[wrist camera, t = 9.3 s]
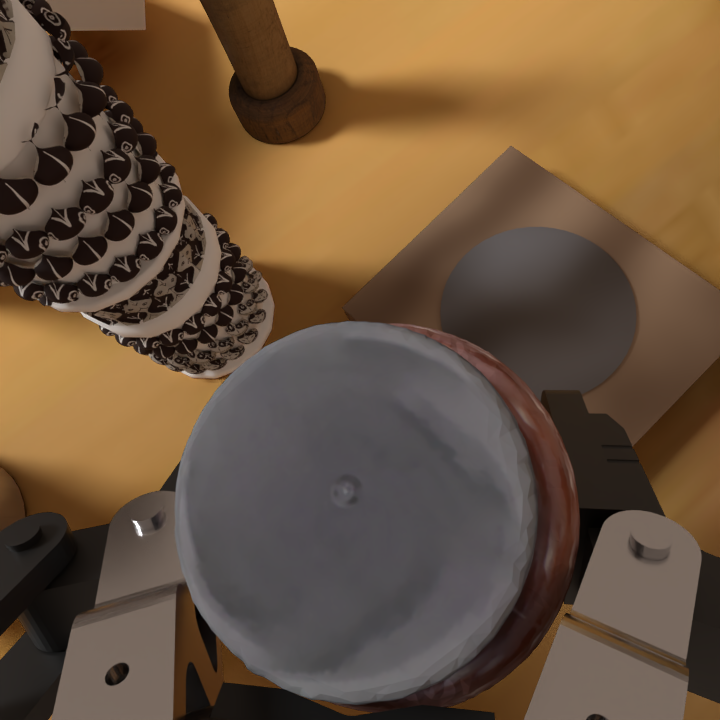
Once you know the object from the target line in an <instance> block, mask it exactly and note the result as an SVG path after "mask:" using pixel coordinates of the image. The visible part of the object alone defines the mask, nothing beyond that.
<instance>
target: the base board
mask: <svg viewBox="0 0 720 720" xmlns="http://www.w3.org/2000/svg"><path fill="white" fill-rule="evenodd" d="M342 308H343V310H344V311H345V313H346V315H347V317H348V318H349V320H350V321H367V322H379V323H387V324H391V323H395V324H411V325H416V326H421V327H426V328H431V329H437V330H440V331H442V332H445V333H449V334H452V335H455V336H457V337H460V338H462V339H464V340H467V341H468V342H471V343H473V344H475V345H477V346H479V347H481V348H482V349H484V350H485V351H488V352H489V353H491V354H492V355H493V356H494V357H495V358H497V359H498V360H500V361H501V362H502V363H504V364H505V365H506V366H507V367H508V368H510V369H511V370H512V371H513V372H514V373H515V374H517V375H518V376H519V377H520V378H521V379H522V380H523V381H524V382H525V383H526V384H527V385H528V386H529V388H530V389H531V390H532V392H533V393H534V394H535V395H536V397H537V398H538V399H539V401H540V402H541V395H542V391H543V390H579V391H580V392H581V394H582V397H583V400H584V402H585V405H586V407H587V410H588V413H603V414H608V415H609V416H610V417H611V418H612V419H614V420H615V421H616V422H617V423H618V424H620V425H621V426H622V427H623V428H624V429H625V431H626V433H627V435H628V438H629V440H630V442H631V444H632V447H633V446H634V445H635V443H636V442H637V441H638V440H639V439H640V438H641V437H642V436H643V435H644V434H645V433H646V432H647V431H648V430H649V429H650V428H651V427H652V426H653V425H654V424H655V423H656V422H657V421H658V420H659V419H660V418H661V417H662V415H663V414H664V413H665V412H666V411H667V410H668V409H669V408H670V407H671V406H672V405H673V404H674V403H675V402H676V401H677V400H678V399H679V398H680V397H681V396H682V395H683V394H684V393H685V392H686V391H687V390H688V389H689V387H690V386H691V385H692V384H693V383H694V382H695V381H696V380H697V379H698V378H699V377H700V376H701V375H702V374H703V373H704V372H705V371H706V370H707V369H708V368H709V367H710V366H711V365H712V364H713V363H714V362H715V361H716V359H717V358H718V357H719V356H720V290H718V289H717V288H716V287H714V286H713V285H711V284H710V283H708V282H707V281H706V280H704V279H703V278H701V277H700V276H698V275H697V274H695V273H694V272H693V271H691V270H690V269H688V268H687V267H685V266H684V265H682V264H681V263H680V262H678V261H677V260H675V259H674V258H672V257H671V256H669V255H668V254H667V253H665V252H664V251H662V250H661V249H659V248H658V247H656V246H655V245H654V244H652V243H651V242H649V241H648V240H646V239H645V238H643V237H642V236H641V235H639V234H638V233H636V232H635V231H633V230H632V229H630V228H629V227H628V226H626V225H625V224H623V223H622V222H620V221H619V220H617V219H616V218H615V217H613V216H612V215H610V214H609V213H607V212H606V211H605V210H603V209H602V208H600V207H599V206H597V205H596V204H594V203H593V202H592V201H590V200H589V199H587V198H586V197H584V196H583V195H581V194H580V193H579V192H577V191H576V190H574V189H573V188H571V187H570V186H568V185H567V184H566V183H564V182H563V181H561V180H560V179H558V178H557V177H555V176H554V175H553V174H551V173H550V172H548V171H547V170H545V169H544V168H542V167H541V166H540V165H538V164H537V163H535V162H534V161H532V160H531V159H529V158H528V157H527V156H525V155H524V154H522V153H521V152H519V151H518V150H516V149H515V148H514V147H512V146H510V147H509V148H508V149H507V150H506V151H505V152H504V153H503V154H502V155H501V156H500V157H498V158H497V159H496V160H495V161H494V162H493V163H492V164H491V165H490V166H489V167H488V168H487V169H486V170H485V171H484V172H483V173H482V174H481V175H480V176H479V177H478V178H477V179H476V180H475V181H473V182H472V183H471V184H470V185H469V186H468V187H467V188H466V189H465V190H464V191H463V192H462V193H461V194H460V195H459V196H458V197H457V198H456V199H455V200H454V201H453V202H452V203H451V204H450V205H448V206H447V207H446V208H445V209H444V210H443V211H442V212H441V213H440V214H439V215H438V216H437V217H436V218H435V219H434V220H433V221H432V222H431V223H430V224H429V225H428V226H427V227H426V228H424V229H423V230H422V231H421V232H420V233H419V234H418V235H417V236H416V237H415V238H414V239H413V240H412V241H411V242H410V243H409V244H408V245H407V246H406V247H405V248H404V249H403V250H402V251H401V252H399V253H398V254H397V255H396V256H395V257H394V258H393V259H392V260H391V261H390V262H389V263H388V264H387V265H386V266H385V267H384V268H383V269H382V270H381V271H380V272H379V273H378V274H377V275H375V276H374V277H373V278H372V279H371V280H370V281H369V282H368V283H367V284H366V285H365V286H364V287H363V288H362V289H361V290H360V291H359V292H358V293H357V294H356V295H355V296H354V297H353V298H352V299H350V300H349V301H348V302H347V303H346V304H345V305H344V306H343V307H342Z"/></svg>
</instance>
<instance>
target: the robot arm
mask: <svg viewBox="0 0 720 720" xmlns="http://www.w3.org/2000/svg"><path fill="white" fill-rule="evenodd" d="M541 403H542V405H543V406H544V408H545V409H546V410H547V412H548V413H549V414H550V416H551V418H552V420H553V422H554V424H555V426H556V428H557V430H558V432H559V434H560V436H561V437H562V440H563V443H564V446H565V448H566V451H567V453H568V456H569V459H570V462H571V464H572V467H573V471H574V476H575V482H576V487H577V492H578V502H579V513H580V528H579V547H578V552H577V557H576V562H575V567H574V572H573V577H572V580H571V584H570V586H569V589H568V591H567V594H566V596H565V599H564V604H571V605H573V608H572V610H571V612H570V614H568V613H566V614H565V615H564V617H563V619H562V621H561V623H560V625H559V628H558V631H557V633H556V636H555V639H554V641H553V644H552V647H551V649H550V652H549V655H548V657H547V660H546V663H545V665H544V668H543V670H542V673H541V676H540V678H539V681H538V684H537V686H536V689H535V692H534V694H533V697H532V700H531V702H530V705H529V708H528V710H527V713H526V716H525V718H524V720H683V716H684V709H685V702H686V695H687V691H689V692H692V693H694V694H697V695H699V696H702V697H705V698H707V699H710V700H712V701H715V702H717V703H720V558H719V557H716V556H713V555H711V554H709V553H706V552H704V551H702V550H701V549H700V548H699V546H698V544H697V542H696V540H695V539H694V538H693V536H692V535H691V534H690V533H689V532H688V531H687V530H685V529H684V528H683V527H682V526H680V525H679V524H677V523H676V522H674V521H672V520H670V519H668V518H666V517H665V515H664V512H663V510H662V508H661V506H660V504H659V502H658V500H657V497H656V495H655V493H654V491H653V489H652V487H651V485H650V482H649V480H648V478H647V476H646V474H645V472H644V470H643V468H642V465H641V464H639V459H638V457H637V455H636V453H635V450H634V449H632V444H631V442H630V440H629V438H628V435H627V433H626V431H625V429H624V428H623V427H622V426H621V425H620V424H618V423H617V422H616V421H615V420H614V419H612V418H611V417H610V416H609V415H608V414H603V413H588V410H587V407H586V405H585V402H584V400H583V397H582V394H581V392H580V391H579V390H543V391H542V395H541ZM180 462H181V461H180ZM180 462H179V464H178V465H177V466H176V468H175V469H174V471H173V472H172V474H171V475H170V476H169V478H168V479H167V481H166V482H165V484H164V485H163V486H162V488H161V489H160V491H156V492H151V493H147V494H144V495H142V496H139V497H137V498H135V499H133V500H132V501H130V502H129V503H127V504H126V505H124V506H123V507H122V508H121V509H120V510H119V511H118V512H117V513H116V514H115V516H114V517H113V519H112V521H111V523H110V524H106V525H101V526H96V527H91V528H86V529H81V530H76V531H71V529H70V527H69V525H68V523H67V521H66V519H65V518H64V517H63V516H62V515H60V514H57V513H52V512H46V513H38V514H34V515H31V516H28V517H25V509H24V502H23V499H22V496H21V493H20V490H19V488H18V486H17V484H16V483H15V481H14V480H13V478H12V477H11V476H10V475H9V474H8V473H7V472H6V471H5V470H4V469H2V468H0V636H1V635H2V634H3V632H4V631H5V630H6V629H7V628H8V627H9V626H10V625H11V624H12V623H13V622H14V621H15V620H16V619H17V618H18V619H19V621H20V622H21V624H22V626H23V627H24V629H25V630H26V632H25V634H24V635H23V636H22V637H21V638H20V639H19V640H18V641H17V642H16V643H15V645H14V646H13V647H12V648H11V649H10V650H9V651H8V652H7V653H6V654H5V656H4V657H3V658H2V659H1V660H0V720H48V719H49V718H50V717H51V715H52V714H53V715H52V720H495V715H494V713H492V712H483V711H474V710H465V709H456V708H447V707H438V706H429V705H418V706H412V707H406V708H400V709H394V710H388V711H382V712H376V713H370V714H364V715H358V716H347V715H344V714H341V713H338V712H336V711H334V710H331V709H329V708H327V707H325V706H322V705H320V704H318V703H315V702H313V701H311V700H308V699H306V698H304V697H301V696H299V695H297V694H294V693H292V692H290V691H287V690H285V689H277V688H269V687H260V686H251V685H242V684H233V683H224V678H223V661H222V645H221V640H220V639H219V638H218V637H217V636H216V634H215V633H214V632H213V631H212V630H211V629H210V627H209V625H208V624H207V622H206V621H205V620H204V618H203V617H202V616H201V614H200V612H199V610H198V609H197V607H196V605H195V604H194V603H193V601H192V598H191V594H190V591H189V588H188V585H187V582H186V580H185V577H184V575H183V573H182V570H181V565H180V560H179V556H178V552H177V545H176V540H175V532H174V531H175V492H176V481H177V476H178V471H179V467H180Z"/></svg>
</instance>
